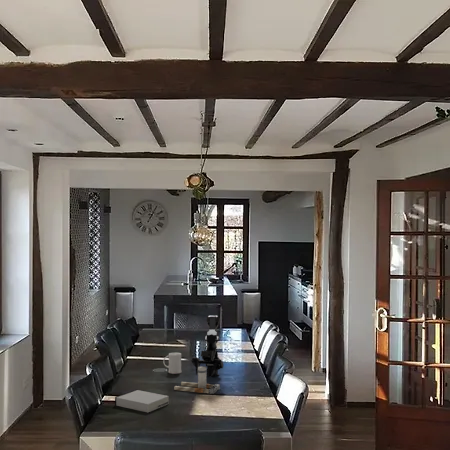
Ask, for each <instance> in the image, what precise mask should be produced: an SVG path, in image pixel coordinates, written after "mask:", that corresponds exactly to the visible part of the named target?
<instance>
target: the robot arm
mask: <svg viewBox="0 0 450 450" xmlns="http://www.w3.org/2000/svg"><path fill="white" fill-rule="evenodd" d="M206 323H207V327H208V331H207V332H206V335H205V340H204V341H205V342H206V350H201V353H200V357H201V359H200V357H191V360H190V361H191V363H192V366H194V367H195V375H196V376H198V367H201V365H204V364H205V367H206V370H207V372H206V377H210V378H213V377H218V376H220V374H219V373H218V372H219V370H221V369H223V368H224V363H223V360H222V359H220V356H219V353H218V351H217V348H218V347H217V344H218V343H219V341H220V337H219V335H218V332H217V329H218V327H219V324H220V316H218V315H208V316H206Z"/></svg>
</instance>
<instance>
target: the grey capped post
mask: <svg viewBox="0 0 450 450" xmlns="http://www.w3.org/2000/svg"><path fill="white" fill-rule="evenodd" d="M206 374H207V367H206V366H204V365H203V366H200V367H198V374H197V383H198V387H197V388H204V389H207V388H206V384H207V375H206Z"/></svg>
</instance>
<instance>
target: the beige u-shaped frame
mask: <svg viewBox="0 0 450 450" xmlns="http://www.w3.org/2000/svg"><path fill="white" fill-rule="evenodd" d="M220 386H221V385H220V384H218V383H215V384H211V383H206V389H204V388H198V382H188V381H181V382H180V386H179V385H178V386H177V385H175V386H174V388H173V389H174V391H181V392H182V391H183V392H191V393H202V394H215V393H216V392H217V391H219V390H220Z"/></svg>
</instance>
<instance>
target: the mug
mask: <svg viewBox="0 0 450 450" xmlns="http://www.w3.org/2000/svg"><path fill="white" fill-rule="evenodd" d="M167 358H168V365H166V364H165V360H166V359H167ZM162 361H163V365H164V367H165V368H168V372H167V373H169V374H172V375H174V374H182V353H181V352H169V353H168V355H166V356H165V357H164V358H163V360H162Z"/></svg>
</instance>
